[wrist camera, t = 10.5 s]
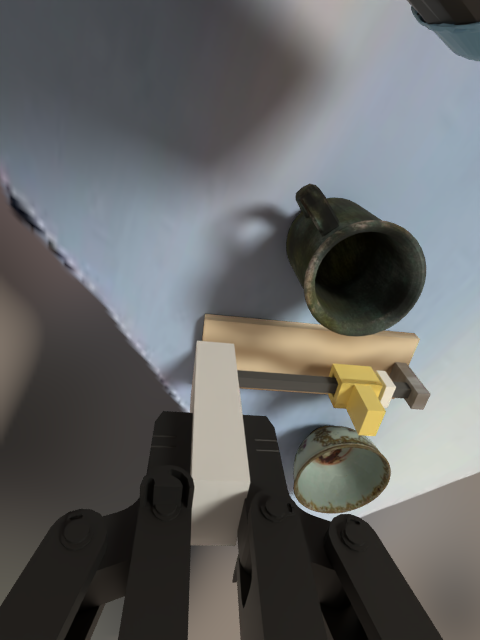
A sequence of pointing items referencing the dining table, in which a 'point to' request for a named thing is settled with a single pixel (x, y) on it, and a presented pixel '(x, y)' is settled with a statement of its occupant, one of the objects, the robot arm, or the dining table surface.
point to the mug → (353, 265)
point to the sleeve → (358, 396)
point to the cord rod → (302, 383)
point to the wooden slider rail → (315, 350)
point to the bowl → (338, 470)
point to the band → (385, 388)
